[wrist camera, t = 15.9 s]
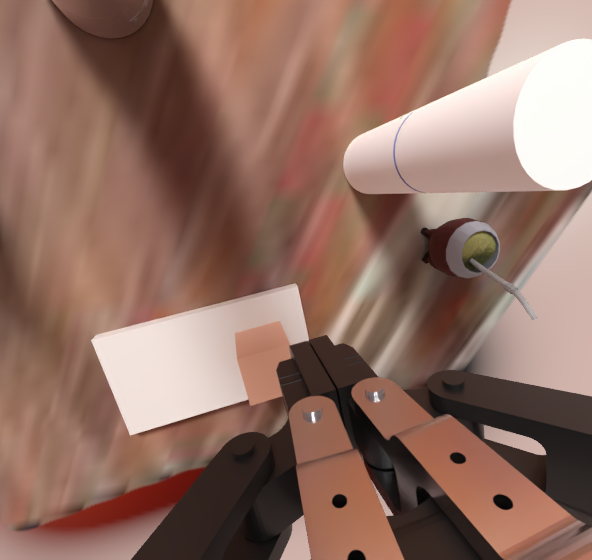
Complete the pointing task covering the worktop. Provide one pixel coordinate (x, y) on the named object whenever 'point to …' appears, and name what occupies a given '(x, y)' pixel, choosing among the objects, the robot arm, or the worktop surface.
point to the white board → (190, 357)
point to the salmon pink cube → (261, 360)
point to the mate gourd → (467, 252)
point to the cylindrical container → (489, 134)
